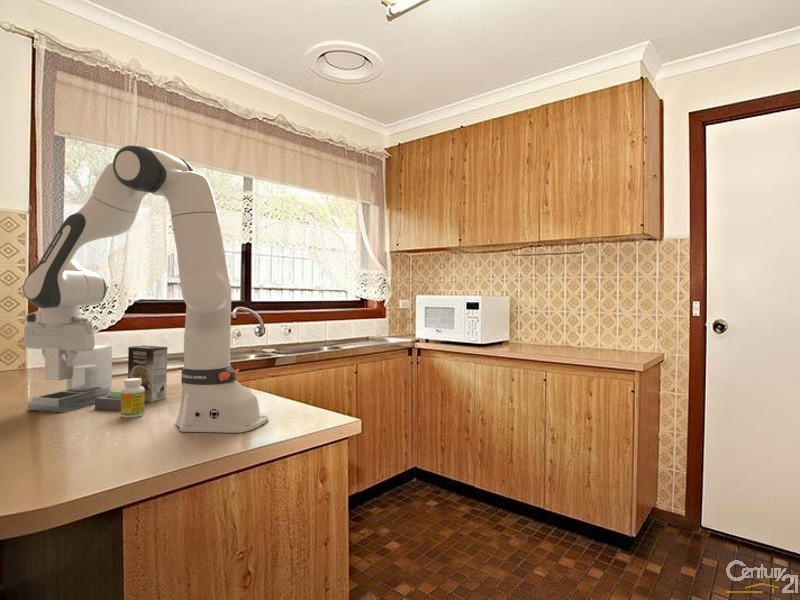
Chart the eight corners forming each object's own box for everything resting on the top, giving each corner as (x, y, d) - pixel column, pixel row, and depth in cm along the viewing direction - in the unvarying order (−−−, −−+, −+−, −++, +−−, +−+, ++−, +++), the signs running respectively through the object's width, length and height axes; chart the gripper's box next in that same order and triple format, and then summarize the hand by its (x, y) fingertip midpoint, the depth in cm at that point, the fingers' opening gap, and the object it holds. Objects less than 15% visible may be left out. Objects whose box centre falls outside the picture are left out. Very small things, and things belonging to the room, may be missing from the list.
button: (129, 400, 133) (130, 390, 133) (118, 403, 129) (119, 392, 129) (118, 399, 133) (118, 389, 133) (106, 402, 129) (106, 392, 129)
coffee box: (126, 400, 139) (127, 347, 138) (143, 395, 145) (143, 344, 145) (151, 402, 136) (152, 348, 136) (167, 397, 143) (168, 346, 142)
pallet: (112, 398, 140) (113, 364, 139) (61, 412, 123) (61, 374, 123) (82, 396, 142) (82, 362, 142) (28, 410, 125) (28, 371, 125)
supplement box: (112, 390, 151) (113, 345, 151) (91, 396, 142) (92, 348, 142) (87, 389, 152) (88, 344, 152) (65, 395, 143) (65, 347, 143)
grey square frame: (141, 403, 134) (141, 393, 134) (119, 410, 126) (119, 399, 126) (117, 402, 136) (117, 392, 136) (94, 408, 128) (94, 398, 128)
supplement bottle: (133, 418, 119) (134, 381, 119) (115, 417, 120) (116, 380, 120) (148, 413, 124) (149, 378, 124) (131, 412, 125) (132, 376, 125)
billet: (72, 377, 130) (73, 346, 130) (58, 380, 125) (58, 348, 125) (59, 376, 131) (60, 345, 131) (44, 379, 126) (45, 347, 126)
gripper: (101, 317, 129) (100, 366, 129) (41, 315, 133) (40, 362, 133) (81, 318, 123) (80, 369, 123) (19, 315, 127) (18, 365, 127)
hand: (59, 366), depth 128 cm, fingers closed on billet, 4 cm apart
